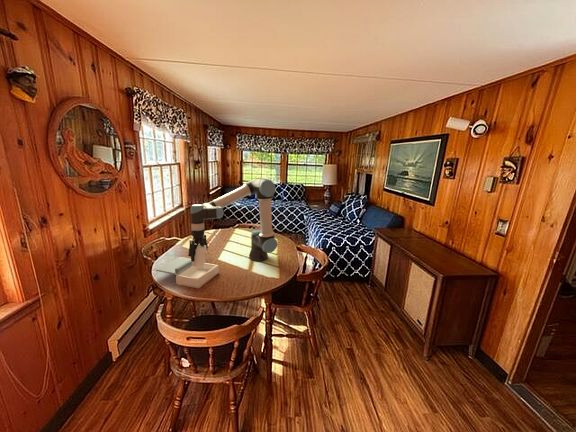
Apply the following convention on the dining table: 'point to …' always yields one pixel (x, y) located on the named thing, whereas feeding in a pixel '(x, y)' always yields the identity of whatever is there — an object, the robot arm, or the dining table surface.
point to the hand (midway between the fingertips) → (199, 262)
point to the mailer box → (197, 275)
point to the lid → (176, 266)
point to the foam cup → (200, 256)
